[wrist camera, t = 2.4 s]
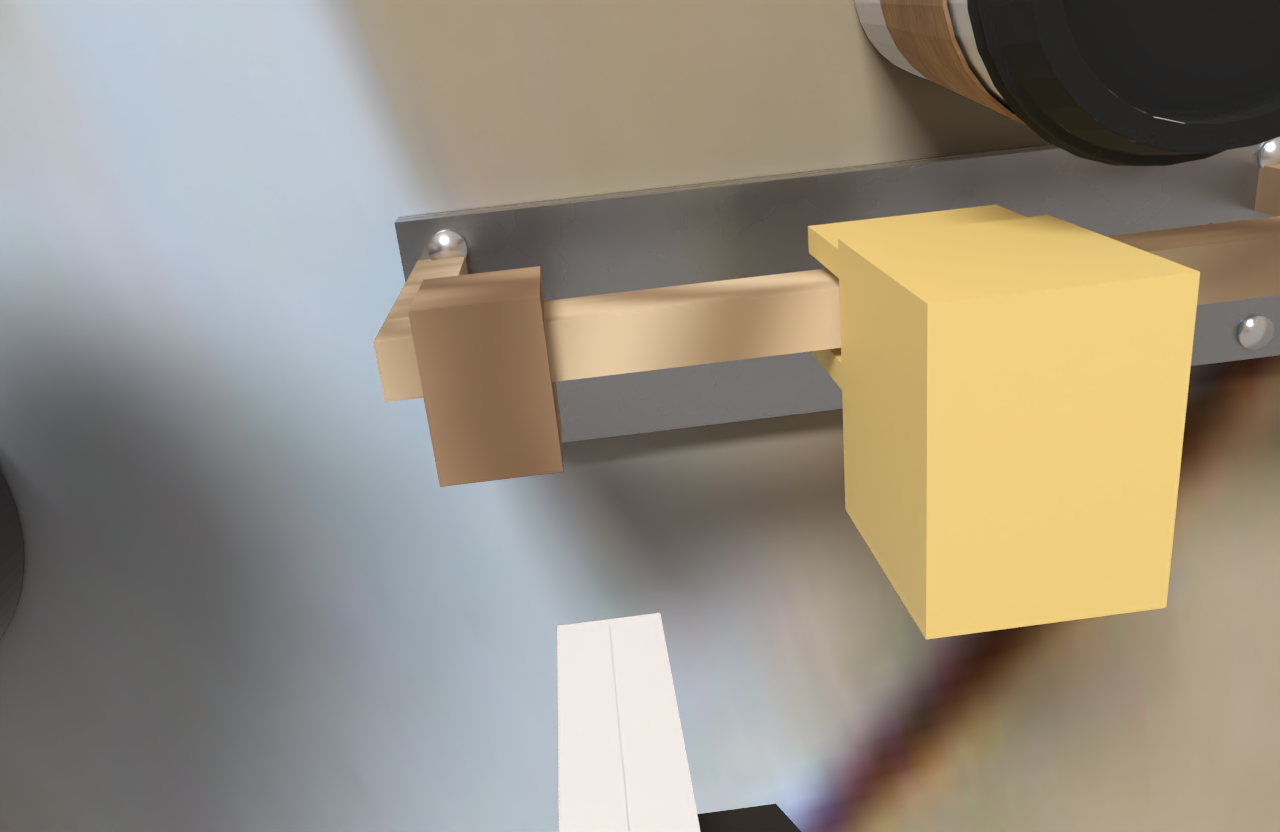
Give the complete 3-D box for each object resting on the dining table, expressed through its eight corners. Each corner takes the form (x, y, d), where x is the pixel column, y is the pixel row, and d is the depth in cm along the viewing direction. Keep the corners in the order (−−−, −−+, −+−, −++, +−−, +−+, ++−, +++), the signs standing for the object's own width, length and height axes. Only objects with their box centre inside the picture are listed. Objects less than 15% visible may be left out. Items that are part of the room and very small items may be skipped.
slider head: (774, 394, 35) (926, 639, 21) (763, 184, 32) (927, 303, 18) (920, 377, 35) (1166, 607, 21) (921, 166, 32) (1199, 271, 19)
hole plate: (440, 446, 36) (437, 460, 35) (398, 216, 33) (393, 223, 32) (1273, 345, 37) (1295, 355, 36) (1302, 116, 34) (1328, 119, 33)
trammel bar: (440, 391, 34) (404, 519, 25) (413, 237, 32) (363, 317, 23) (1286, 290, 35) (1533, 378, 27) (1306, 136, 34) (1580, 176, 25)
